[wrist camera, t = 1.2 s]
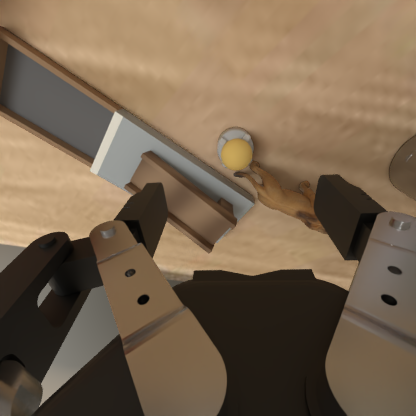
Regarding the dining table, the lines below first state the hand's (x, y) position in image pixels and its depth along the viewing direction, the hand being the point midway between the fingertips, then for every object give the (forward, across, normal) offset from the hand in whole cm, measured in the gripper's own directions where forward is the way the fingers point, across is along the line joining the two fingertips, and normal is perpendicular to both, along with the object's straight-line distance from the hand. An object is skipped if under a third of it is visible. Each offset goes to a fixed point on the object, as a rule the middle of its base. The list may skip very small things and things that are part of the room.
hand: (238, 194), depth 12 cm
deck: (+19, +8, +7) cm, 22 cm away
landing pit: (+19, +21, -4) cm, 29 cm away
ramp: (+17, +7, +8) cm, 20 cm away
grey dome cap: (+19, -1, +3) cm, 19 cm away
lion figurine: (+20, -8, +9) cm, 23 cm away
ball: (+15, -1, +3) cm, 15 cm away
